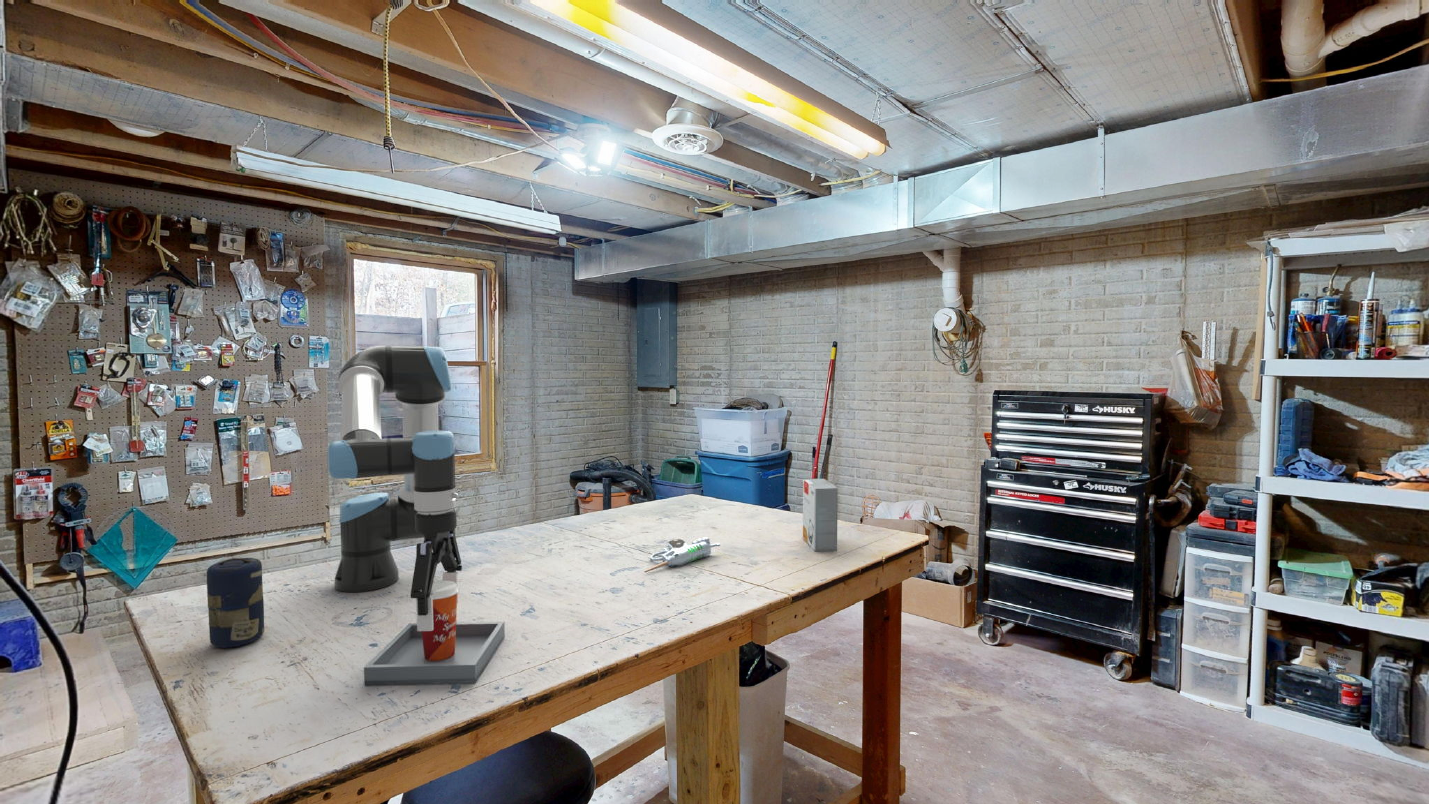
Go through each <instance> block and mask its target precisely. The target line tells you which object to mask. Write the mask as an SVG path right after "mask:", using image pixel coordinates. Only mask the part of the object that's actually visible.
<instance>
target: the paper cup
mask: <svg viewBox="0 0 1429 804" xmlns="http://www.w3.org/2000/svg"><path fill="white" fill-rule="evenodd" d="M459 592H460V589H459V586H458V587H457V584H456V583H455V582H453V581H447V580H443V579H442V580H435V581H433V585H432V589H431V594H430V596H433V626H434V629H433V630H432V631H422V639H423V649H424V656H425V659H426V660H428V661H441V660H445V659H448V658H450V657H452V656H453V655H454V653H455V640H456V623H457V607H458V603H457V593H458V594H459Z"/></svg>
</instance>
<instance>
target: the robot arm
mask: <svg viewBox="0 0 1429 804" xmlns="http://www.w3.org/2000/svg"><path fill="white" fill-rule="evenodd" d="M448 364H449V363H448V360H447V355H446V352H445V350H444V348H442V347H440V346H426V345H391V346H389V345H376V346H370V347H368V348H366V349H363V350H362V351H359V352H358V353H356V354H354V355H353V356H352V357H350V358H349V359H348V360H347V361H346V363H345V364H344V365H343V366H342V368H341V370H340V372H339V375H338V378H337V379H338V380H337V386H338V390H339V391H340V393H341V395H342V404H341V405H342V406H341V425H340V426H341V429H340V431H341V432H340V439H339V440H336V441H332V442H330V443H329V444H328V447H327V463H328V472H329V473H328V474H329V475H330V477H331V479H337V480H338V479H341V480H343V479H345V480H346V479H350V480H354V479H362V478H363V479H364V478H374V477H386V476H387V477H388V476H401V475H402V476H403V486H402V487H401V488H399V489H398V492H397V497H390V495H389V493H388V492H373V493H372V492H370V493H366V494H362V495H358V496H354V497H352V498H349V499H347V500H345V501H344V502H342V504H341V505H340V506H339V507H340V508H339V519H338V522H339V524H340V526H339V527H340V552H341V553H340V555H341V557H340V561H339V564H338V567H337V570H336V573H335V575H334V589H335V590H337V591H339V592H345V593H346V592H347V593H361V592H369V591H373V590H379V589H382V588H386V587H388V586H390V585H394V583H396V582H398V580H399V579H400V577H399V576H400V575H399V574H400V573H399V568H398V566H397V564H396V561H395V559H394V556H393V554H392V551H391V542H397V541H399V542H400V541H407V540H414V539H415V540H416V539H423V543H421V542H420V543H418V542H417V544H416V546H415V547H416V554H415V555H416V556H415V562H414V568H413V576H412V582H411V589H410V599H416V602H415V603H416V623H417V631H432V630H433V629H434V626H433V596H430V594H431V589H432V585H433V581H434V579H435V575H436V570H437V567H438V565H439V564H441V565H442V568H443V570H444V572H443V573H442V580H447V581H453V582H455V583H456V584H457V587H458V588H459V586H458V585H459V584H458V579H459V578H458V572H461V571H462V570H463V565H462V559H461V554H460V550H459V546H458V541H457V538H456V528H457V526H458V521H457V510H456V509H455V507H457V500H456V499H457V498H458V497H459V494H458V493H457V492H456V445H455V436H454V433H453V432H451V431H449V430H439V404H441V403H442V402H443V401H444V400H445V399H446V398H445V397H446V395H445V393H448V392H451V390H452V387H451V385H452V384H451V382H452V381H451V377H450V371H449V365H448ZM383 393H387V394H388V393H392V394H395V400H396V402H398V403H399V404H401V405H402V407H401V408H402V412H401V413H402V437H396V438H395V437H394V438H391V437H390V438H382V435H383V434H382V416H381V411H382V410H381V394H383ZM458 603H459V592H458V593H457V604H458Z"/></svg>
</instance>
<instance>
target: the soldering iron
mask: <svg viewBox="0 0 1429 804" xmlns="http://www.w3.org/2000/svg"><path fill="white" fill-rule="evenodd" d="M716 547H721V543H720V542H716V543H712V544H711V541H710V538H709V537H698V538H697V539H696V540H694V541H692V542H691V544H690V545H688V543H687V542H686V541H685V540H683V539H680V538H675V539H672V540H669V541H668V542H667V548H665V547H661V551H658V552H655V553H653V554H651V555H650V560H651V561H653V562H660V561H662V562H661V563H659V564H656V565H654V566H652V567H650V568H648V569H645V570H644V571H643V572H644V573H648V572H651V571H655V570H657V569H660V568H662V567H665V566H668V567H671V568H678V567H681V566H683V565H686V564H688V563H691V562H693V561H696V560H698V559H703V558H706V557H709V555H711V554H712V548H716Z"/></svg>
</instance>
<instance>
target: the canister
mask: <svg viewBox="0 0 1429 804" xmlns="http://www.w3.org/2000/svg"><path fill="white" fill-rule="evenodd" d="M263 587H264V586H263V565H262V561H261V560H260V559H258V558H255V557H232V558H229V559H225V560H221V561H219V562H216V563H214V564H212V565H210V566H209V567H208V568H207V570H206V594H207V595H206V596H207V607H208V608H207V609H208V610H207V611H208V629H209V630H208V631H209V641H210V644H211V645H212V646H214V647H215V648H235V647H239V646H244V645H246V644H249V643H250V644H251V643H253V642H254V641H256V640H258V639H259V638H261V637H262V636H263V635H264V633H265V607H264V606H265V603H264V591H263V590H264V588H263Z"/></svg>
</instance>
